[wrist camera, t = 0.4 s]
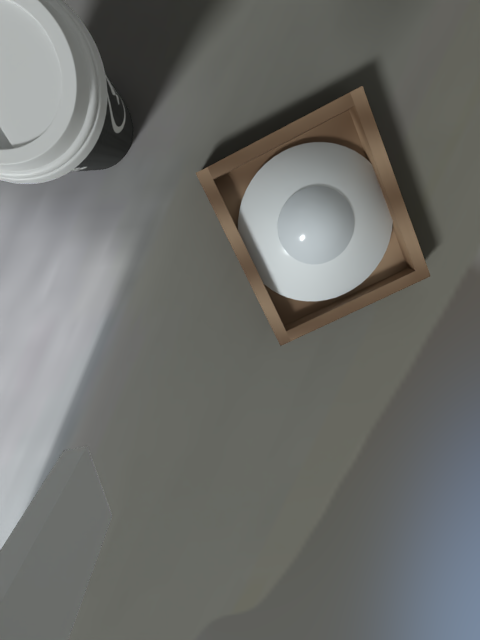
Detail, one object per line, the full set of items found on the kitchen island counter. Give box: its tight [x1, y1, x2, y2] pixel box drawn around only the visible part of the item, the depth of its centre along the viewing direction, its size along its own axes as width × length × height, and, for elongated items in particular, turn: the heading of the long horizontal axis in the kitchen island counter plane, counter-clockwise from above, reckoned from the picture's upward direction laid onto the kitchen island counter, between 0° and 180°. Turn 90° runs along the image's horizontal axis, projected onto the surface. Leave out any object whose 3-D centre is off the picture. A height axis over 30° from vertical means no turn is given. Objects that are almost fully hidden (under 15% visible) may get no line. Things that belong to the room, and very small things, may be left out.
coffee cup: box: [0, 0, 133, 184], centre depth 26 cm, size 10×10×15 cm
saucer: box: [238, 142, 393, 301], centre depth 35 cm, size 13×13×1 cm
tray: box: [196, 86, 430, 346], centre depth 35 cm, size 16×14×3 cm
